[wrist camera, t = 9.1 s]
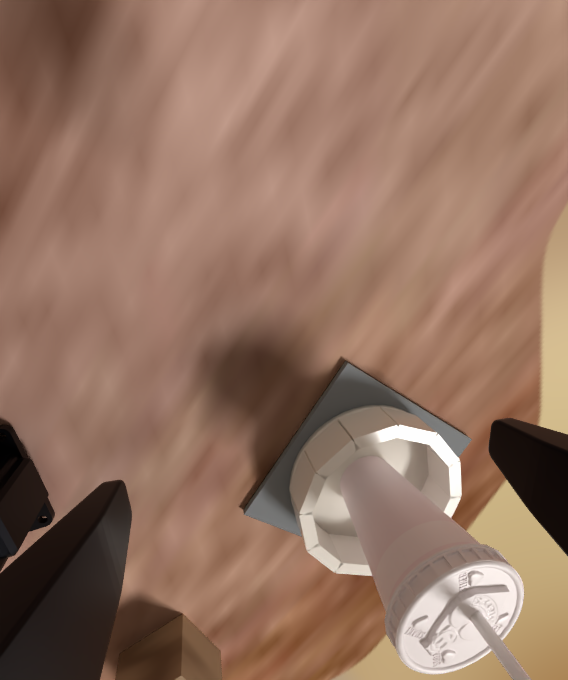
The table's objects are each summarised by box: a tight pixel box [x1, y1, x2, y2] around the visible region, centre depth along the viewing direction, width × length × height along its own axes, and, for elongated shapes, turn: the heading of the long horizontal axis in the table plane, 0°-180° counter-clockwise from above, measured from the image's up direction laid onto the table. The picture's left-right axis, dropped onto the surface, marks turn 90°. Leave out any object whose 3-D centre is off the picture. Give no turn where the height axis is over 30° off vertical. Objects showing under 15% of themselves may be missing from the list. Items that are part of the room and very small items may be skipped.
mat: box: [243, 361, 472, 537], centre depth 26 cm, size 12×12×1 cm
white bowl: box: [289, 405, 462, 576], centre depth 24 cm, size 11×11×3 cm
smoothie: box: [340, 456, 531, 680], centre depth 18 cm, size 6×6×14 cm
